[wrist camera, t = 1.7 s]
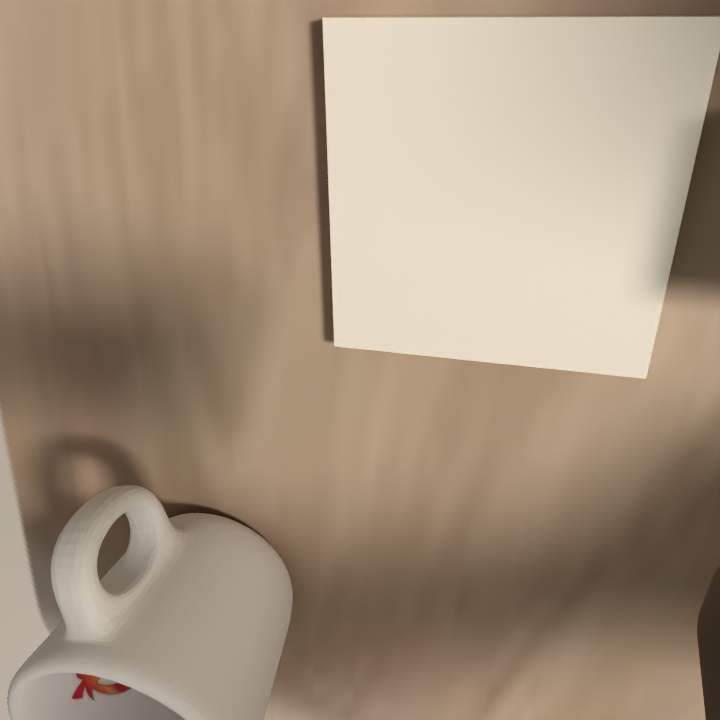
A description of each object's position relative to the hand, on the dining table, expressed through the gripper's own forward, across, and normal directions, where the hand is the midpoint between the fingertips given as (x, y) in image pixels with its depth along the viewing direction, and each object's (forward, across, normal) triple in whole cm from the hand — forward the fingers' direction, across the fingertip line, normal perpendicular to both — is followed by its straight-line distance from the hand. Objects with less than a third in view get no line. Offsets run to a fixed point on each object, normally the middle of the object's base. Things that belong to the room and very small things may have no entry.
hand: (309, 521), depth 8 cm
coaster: (+12, -2, 0) cm, 13 cm away
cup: (+13, +8, +14) cm, 21 cm away
